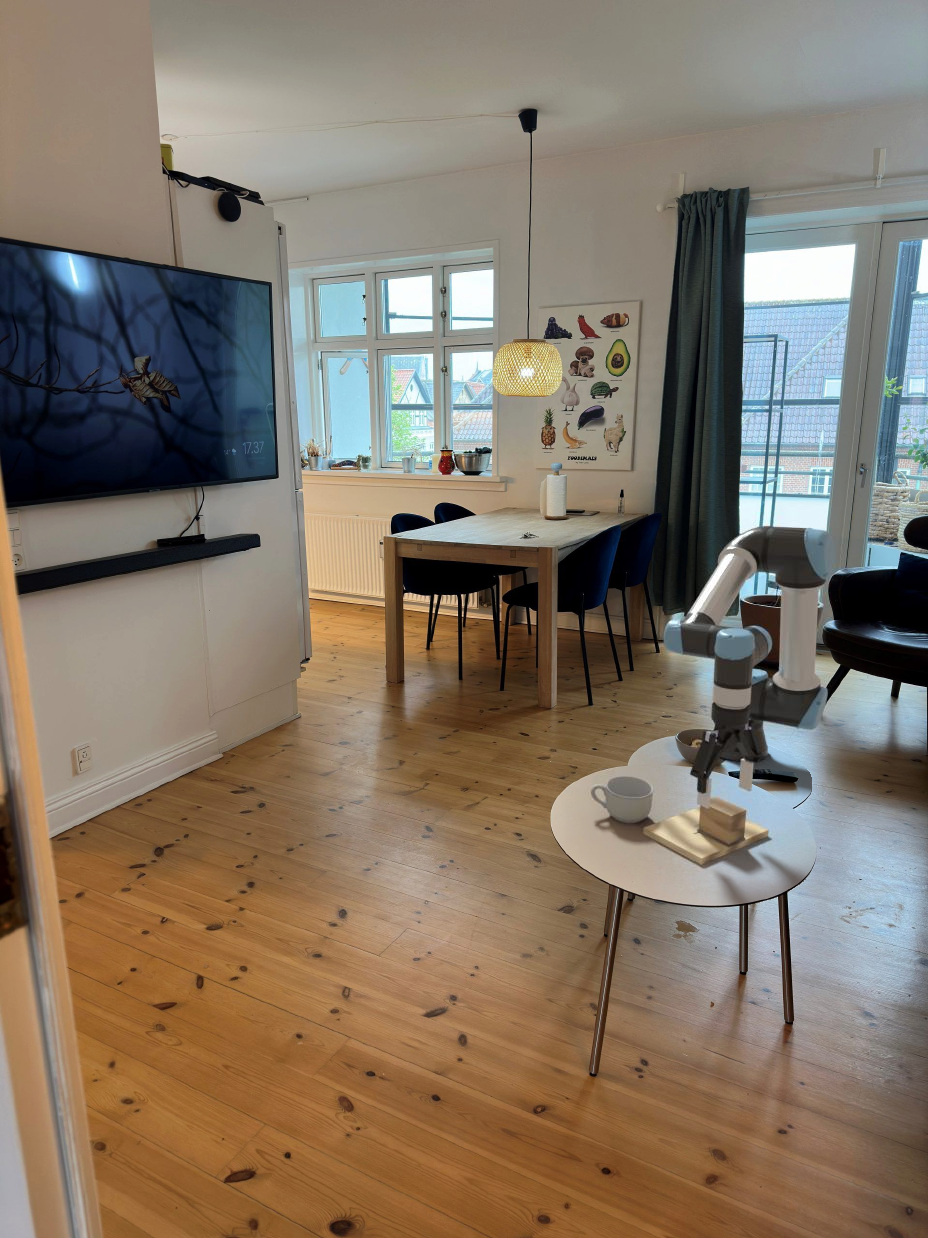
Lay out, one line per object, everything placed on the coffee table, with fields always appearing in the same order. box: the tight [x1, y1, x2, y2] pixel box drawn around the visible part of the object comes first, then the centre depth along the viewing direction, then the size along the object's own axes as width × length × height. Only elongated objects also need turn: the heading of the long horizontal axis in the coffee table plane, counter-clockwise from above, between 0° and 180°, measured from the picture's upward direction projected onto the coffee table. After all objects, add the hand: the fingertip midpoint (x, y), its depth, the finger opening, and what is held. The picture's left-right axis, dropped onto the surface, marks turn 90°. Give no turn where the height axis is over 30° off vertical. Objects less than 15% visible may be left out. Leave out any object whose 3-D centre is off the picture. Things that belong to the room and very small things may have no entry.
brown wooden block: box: [697, 796, 747, 847], centre depth 174 cm, size 5×8×7 cm, turn 34°
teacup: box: [590, 775, 654, 824], centre depth 186 cm, size 14×11×8 cm
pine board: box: [643, 806, 770, 866], centre depth 178 cm, size 22×16×2 cm
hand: (724, 797), depth 173 cm, fingers open, 13 cm apart
